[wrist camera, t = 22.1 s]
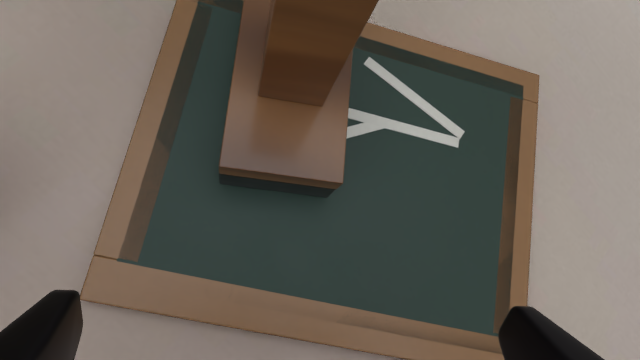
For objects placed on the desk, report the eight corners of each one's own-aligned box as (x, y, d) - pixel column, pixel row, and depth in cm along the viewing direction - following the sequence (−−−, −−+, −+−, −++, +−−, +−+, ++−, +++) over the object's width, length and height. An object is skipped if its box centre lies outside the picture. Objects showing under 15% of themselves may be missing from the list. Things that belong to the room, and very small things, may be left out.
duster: (327, 198, 23) (427, 107, 12) (219, 184, 22) (214, 70, 11) (342, 14, 26) (433, -200, 15) (247, -6, 25) (266, -251, 14)
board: (511, 377, 24) (524, 381, 23) (84, 299, 20) (77, 299, 19) (529, 82, 29) (540, 74, 28) (188, -22, 25) (187, -35, 24)
